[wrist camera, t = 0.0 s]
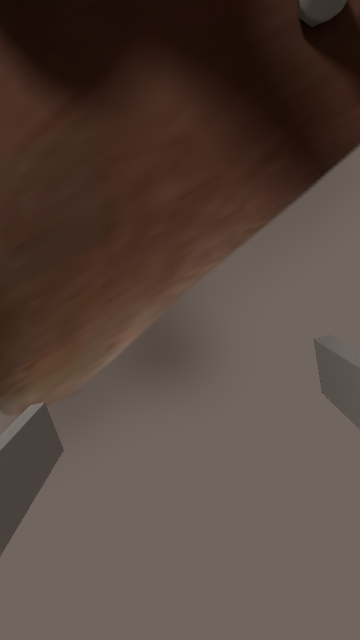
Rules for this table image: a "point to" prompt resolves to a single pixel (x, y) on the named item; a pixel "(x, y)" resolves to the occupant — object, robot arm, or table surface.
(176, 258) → the table surface
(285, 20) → the table surface
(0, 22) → the table surface
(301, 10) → the salt shaker
